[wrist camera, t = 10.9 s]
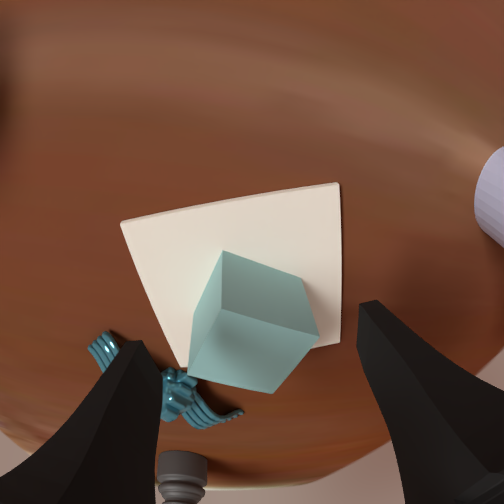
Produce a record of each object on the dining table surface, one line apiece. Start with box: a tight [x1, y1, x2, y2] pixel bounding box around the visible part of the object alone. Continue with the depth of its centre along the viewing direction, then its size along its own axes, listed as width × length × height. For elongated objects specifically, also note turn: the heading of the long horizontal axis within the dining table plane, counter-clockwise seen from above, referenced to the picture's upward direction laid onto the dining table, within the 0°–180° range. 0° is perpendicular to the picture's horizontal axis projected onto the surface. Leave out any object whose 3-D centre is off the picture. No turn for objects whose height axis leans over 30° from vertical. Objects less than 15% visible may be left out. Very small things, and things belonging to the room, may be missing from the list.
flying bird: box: [88, 331, 244, 429], centre depth 23 cm, size 15×7×4 cm, turn 41°
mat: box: [120, 182, 342, 367], centre depth 19 cm, size 12×12×1 cm
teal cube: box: [187, 250, 320, 394], centre depth 17 cm, size 5×5×5 cm
